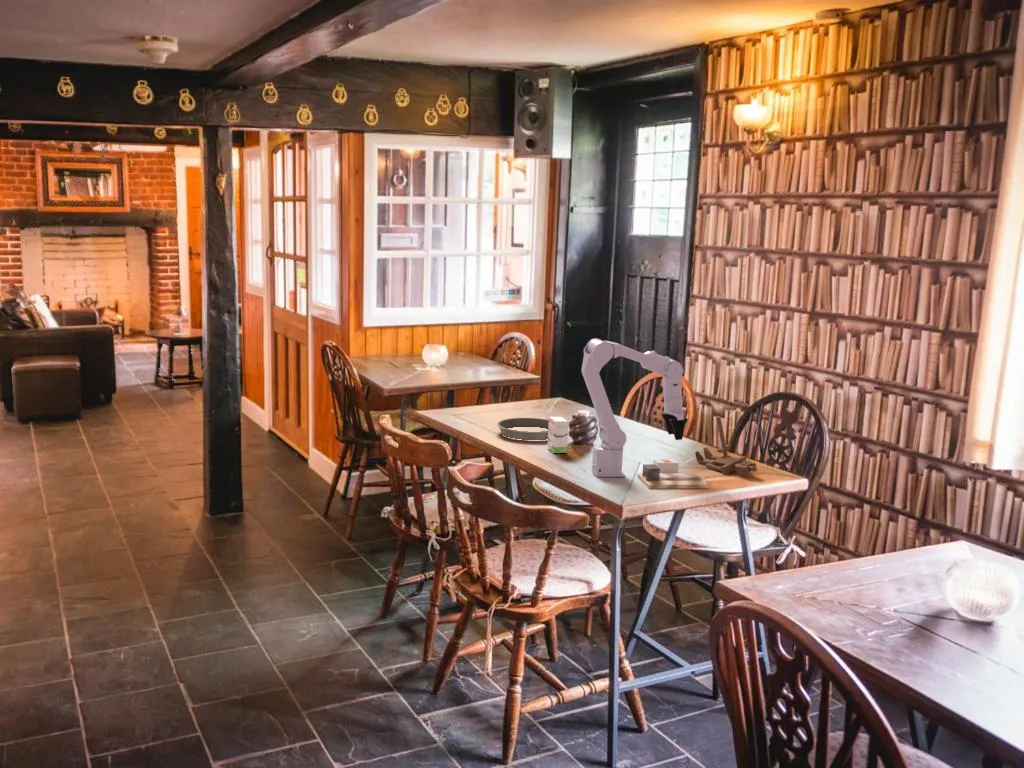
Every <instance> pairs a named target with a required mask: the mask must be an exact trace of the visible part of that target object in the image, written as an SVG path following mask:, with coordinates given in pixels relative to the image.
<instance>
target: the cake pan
mask: <svg viewBox="0 0 1024 768" xmlns="http://www.w3.org/2000/svg"><path fill="white" fill-rule="evenodd" d="M496 425H497V426H498V428H499V430H500V434H502V435H504V436H506V437H510V438H515V439H522V440H546V439H548V431H541V432H528V431H517V430H511V429H508V428H513V427H540V428H546V429H548V426H549V419H546V418H545V419H544V418H538V417H512V418H504V419H502V420H499V421H498V422H497V423H496ZM502 435H501V436H502Z"/></svg>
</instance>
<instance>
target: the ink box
mask: <svg viewBox="0 0 1024 768" xmlns="http://www.w3.org/2000/svg"><path fill="white" fill-rule="evenodd" d="M548 420H549V426H548V441H547V447H548V448H549V449H550V450H551V451H552V452H554V453H567V454H568V439H569V438H568V434H569V431H568V430H569V421H568V420H567V419H565V418H563V417H562V416H549V417H548ZM550 450H549V451H550ZM551 451H550V452H551ZM552 452H551V453H552ZM554 453H553V454H554Z"/></svg>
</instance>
